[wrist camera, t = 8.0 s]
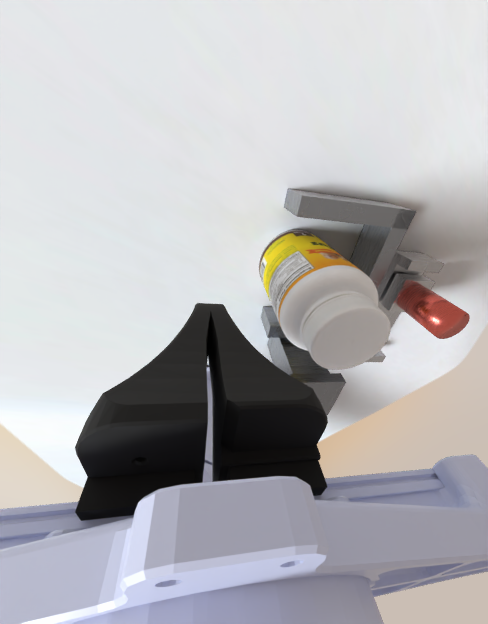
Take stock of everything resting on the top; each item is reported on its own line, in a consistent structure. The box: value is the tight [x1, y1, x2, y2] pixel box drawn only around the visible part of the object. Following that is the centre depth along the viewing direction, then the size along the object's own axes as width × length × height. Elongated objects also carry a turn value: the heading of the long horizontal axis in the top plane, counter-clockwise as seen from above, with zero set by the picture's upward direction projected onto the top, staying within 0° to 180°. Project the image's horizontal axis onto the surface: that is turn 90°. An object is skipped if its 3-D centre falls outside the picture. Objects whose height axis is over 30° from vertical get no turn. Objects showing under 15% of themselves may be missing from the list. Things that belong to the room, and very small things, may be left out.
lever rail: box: [366, 251, 444, 362], centre depth 22 cm, size 11×3×2 cm, turn 172°
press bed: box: [261, 189, 416, 415], centre depth 18 cm, size 15×8×8 cm, turn 172°
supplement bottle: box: [259, 230, 391, 370], centre depth 15 cm, size 6×6×10 cm
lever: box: [381, 274, 469, 339], centre depth 19 cm, size 3×3×5 cm
